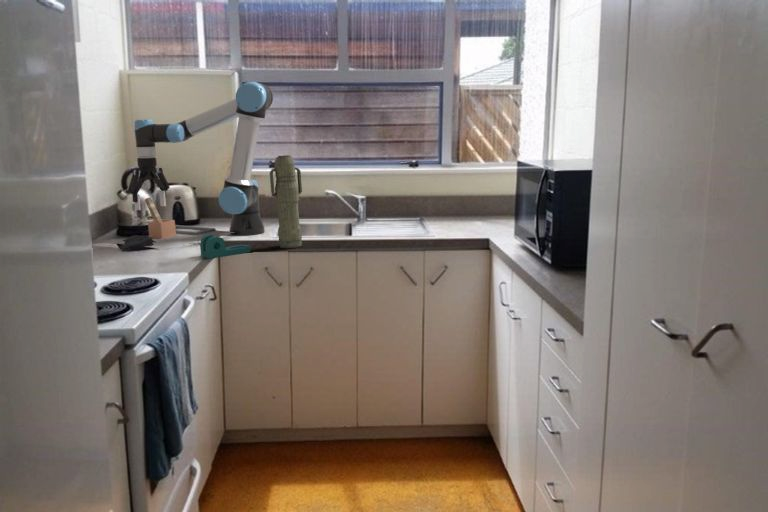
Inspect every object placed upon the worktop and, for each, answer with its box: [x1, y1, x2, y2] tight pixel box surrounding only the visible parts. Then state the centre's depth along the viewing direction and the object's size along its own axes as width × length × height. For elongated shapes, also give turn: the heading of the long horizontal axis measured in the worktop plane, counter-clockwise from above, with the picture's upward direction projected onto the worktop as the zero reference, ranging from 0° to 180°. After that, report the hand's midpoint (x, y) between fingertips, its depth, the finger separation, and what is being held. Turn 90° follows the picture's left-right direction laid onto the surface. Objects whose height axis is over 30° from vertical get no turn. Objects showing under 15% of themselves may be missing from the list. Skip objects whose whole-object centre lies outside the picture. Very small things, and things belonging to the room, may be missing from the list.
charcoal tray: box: [175, 224, 216, 236], centre depth 304 cm, size 26×12×2 cm, turn 60°
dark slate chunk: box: [116, 234, 158, 253], centre depth 278 cm, size 15×22×5 cm
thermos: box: [269, 154, 303, 249], centre depth 266 cm, size 9×12×35 cm
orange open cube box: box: [147, 218, 177, 239], centre depth 290 cm, size 8×8×8 cm
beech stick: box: [144, 197, 162, 222], centre depth 291 cm, size 10×2×17 cm, turn 60°
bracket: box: [199, 234, 251, 260], centre depth 257 cm, size 18×7×8 cm, turn 129°
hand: (150, 208), depth 291 cm, fingers open, 13 cm apart
